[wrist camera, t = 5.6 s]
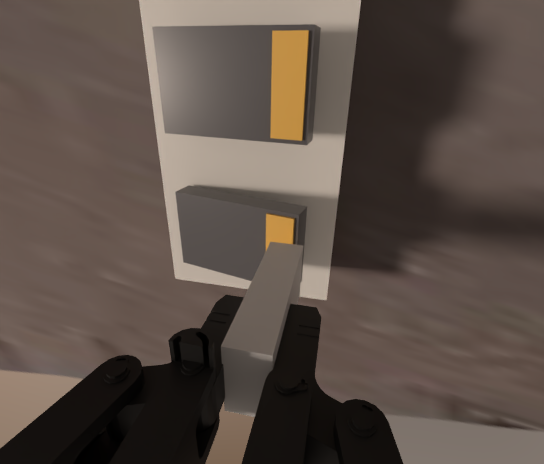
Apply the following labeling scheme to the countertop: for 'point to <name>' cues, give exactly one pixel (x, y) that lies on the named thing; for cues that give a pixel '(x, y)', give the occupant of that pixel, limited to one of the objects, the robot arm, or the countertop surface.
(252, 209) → the block
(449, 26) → the countertop surface
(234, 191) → the rocker switch panel
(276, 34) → the rocker middle
